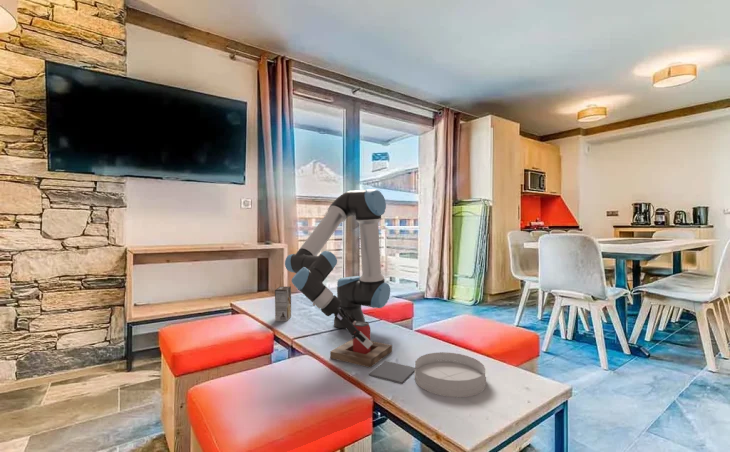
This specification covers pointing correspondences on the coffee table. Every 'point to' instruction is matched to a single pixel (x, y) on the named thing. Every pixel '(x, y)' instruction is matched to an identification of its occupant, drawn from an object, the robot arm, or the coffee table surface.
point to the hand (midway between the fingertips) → (367, 339)
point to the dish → (450, 374)
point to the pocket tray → (368, 360)
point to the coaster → (392, 372)
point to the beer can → (365, 330)
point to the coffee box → (283, 303)
